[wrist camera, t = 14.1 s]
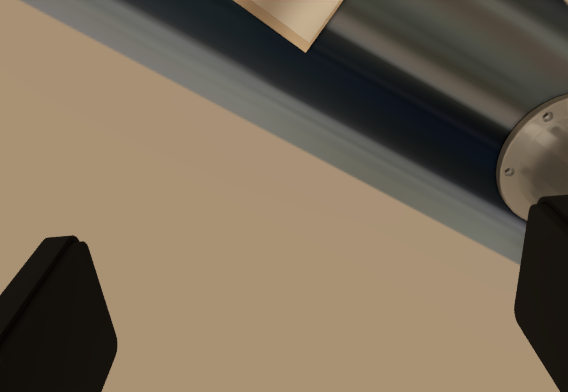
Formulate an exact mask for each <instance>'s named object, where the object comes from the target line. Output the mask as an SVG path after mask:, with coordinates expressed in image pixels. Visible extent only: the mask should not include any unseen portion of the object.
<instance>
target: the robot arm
mask: <svg viewBox="0 0 568 392" xmlns="http://www.w3.org/2000/svg"><path fill="white" fill-rule="evenodd" d="M496 182H497V187H498V190H499V193H500V195H501V197H502V198H503V200H504V202H505V203H506V204H507V205H508V206H509V208H510V209H511V210H512V211H513V212H514V213H516V214H517V215H518V216H520V217H521V218H523V219H525V220H527V225H526V232H525V239H524V245H523V252H522V259H521V265H520V272H519V279H518V285H517V292H516V299H515V306H514V311H515V317H516V320H517V323H518V325H519V326H520V328H521V329H522V331H523V333H524V334H525V336H526V338H527V339H528V340H529V342H530V344H531V345H532V347H533V349H534V350H535V352H536V354H537V355H538V357H539V358H540V360H541V362H542V363H543V365H544V366H545V368H546V370H547V371H548V373H549V374H550V376H551V377H552V379H553V381H554V382H555V384H556V386H557V387H558V389H559V390H560V392H568V94H566V95H562V96H559V97H556V98H554V99H552V100H550V101H548V102H546V103H544V104H542V105H540V106H539V107H537V108H536V109H534V110H533V111H531V112H530V113H529V114H528V115H527V116H526V117H524V118H523V119H522V120H521V121H520V122H519V123H518V124H517V125H516V127H515V128H514V129H513V131H512V132H511V133H510V134H509V136H508V138H507V139H506V141H505V143H504V145H503V147H502V149H501V152H500V155H499V157H498V161H497V168H496ZM116 352H117V337H116V334H115V330H114V327H113V324H112V321H111V318H110V315H109V311H108V309H107V305H106V302H105V299H104V296H103V292H102V289H101V286H100V283H99V280H98V276H97V273H96V270H95V267H94V264H93V261H92V258H91V254H90V251H89V248H88V246H87V244H86V243H85V242H79V240H78V238H77V237H75V236H62V237H50V238H46V239H44V240H43V242H42V243H41V244H40V245H39V246H38V248H37V249H36V250H35V252H34V253H33V254H32V255H31V257H30V258H29V259H28V261H27V262H26V263H25V265H24V266H23V267H22V268H21V269H20V271H19V272H18V273H17V275H16V276H15V277H14V278H13V280H12V281H11V282H10V283H9V285H8V286H7V287H6V289H5V290H4V291H3V292H2V294H1V295H0V392H101V391H102V389H103V386H104V384H105V381H106V379H107V376H108V374H109V371H110V368H111V366H112V363H113V361H114V358H115V356H116Z"/></svg>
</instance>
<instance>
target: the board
mask: <svg viewBox="0 0 568 392" xmlns="http://www.w3.org/2000/svg"><path fill="white" fill-rule="evenodd" d="M234 1H235V2H237V3H238V4H239V5H241V6H242V7H243V8H245V9H246V10H248V11H249V12H250V13H252V14H253V15H254V16H256V17H257V18H259V19H260V20H261V21H263V22H264V23H265V24H267V25H268V26H270V27H271V28H272V29H274V30H275V31H276V32H278V33H279V34H281V35H282V36H283V37H285V38H286V39H287V40H289V41H290V42H292V43H293V44H294V45H296V46H297V47H298V48H300V49H301V50H303V51H304V52H305V53H306V52H307V50H308V49H309V47H310V46H311V45H312V43H313V42H314V40H315V39H316V38H317V36H318V35H319V33H320V32H321V31H322V29H323V28H324V26H325V25H326V24H327V22H328V21H329V19H330V18H331V17H332V15H333V14H334V12H335V11H336V10H337V8H338V7H339V5H340V4H341V3H342V1H343V0H234Z"/></svg>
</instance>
